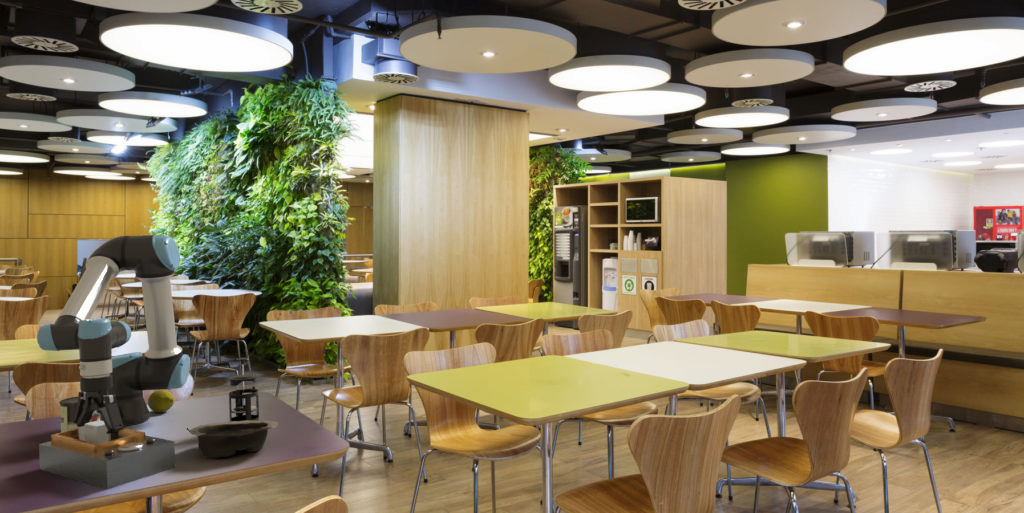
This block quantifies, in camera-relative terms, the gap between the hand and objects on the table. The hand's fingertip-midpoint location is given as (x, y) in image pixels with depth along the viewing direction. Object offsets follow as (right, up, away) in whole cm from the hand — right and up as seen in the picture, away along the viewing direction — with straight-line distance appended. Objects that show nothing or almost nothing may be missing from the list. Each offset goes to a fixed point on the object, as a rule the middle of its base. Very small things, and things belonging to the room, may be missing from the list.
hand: (98, 452), depth 182 cm
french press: (+25, -3, +36) cm, 44 cm away
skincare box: (0, -4, 0) cm, 4 cm away
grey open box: (+4, -4, -2) cm, 5 cm away
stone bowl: (+32, -3, +13) cm, 34 cm away
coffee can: (-18, -4, +21) cm, 28 cm away
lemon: (-14, -3, +60) cm, 62 cm away
